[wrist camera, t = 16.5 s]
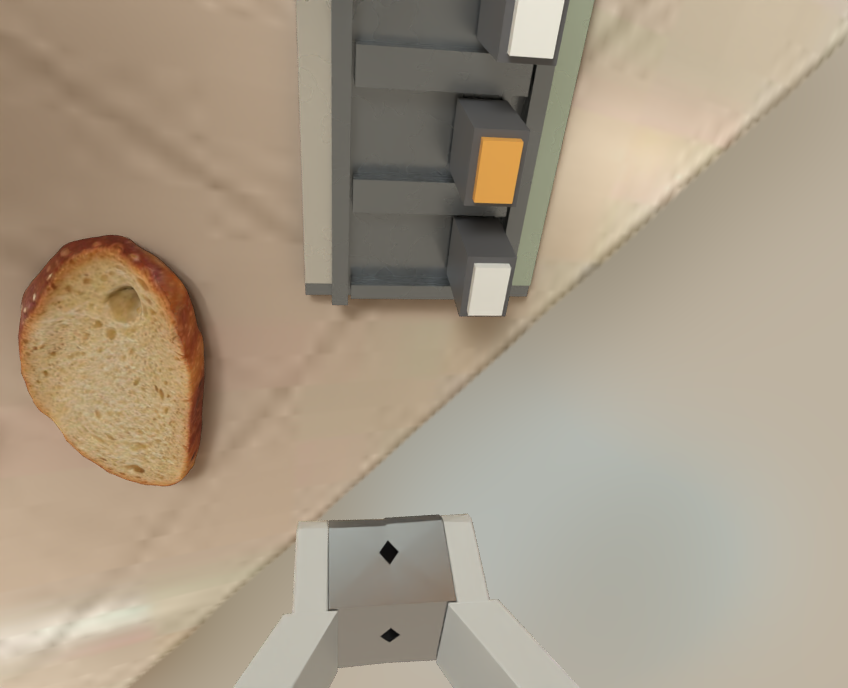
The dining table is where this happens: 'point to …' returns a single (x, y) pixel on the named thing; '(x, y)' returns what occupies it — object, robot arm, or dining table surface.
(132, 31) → the dining table surface
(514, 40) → the breaker
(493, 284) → the breaker
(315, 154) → the panel
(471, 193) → the breaker mid
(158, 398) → the slice of bread
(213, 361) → the dining table surface
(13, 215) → the dining table surface
